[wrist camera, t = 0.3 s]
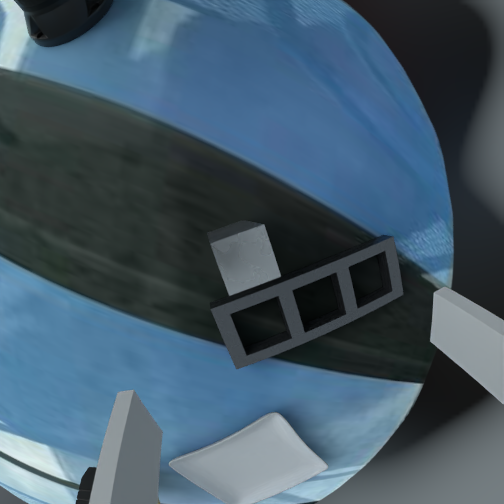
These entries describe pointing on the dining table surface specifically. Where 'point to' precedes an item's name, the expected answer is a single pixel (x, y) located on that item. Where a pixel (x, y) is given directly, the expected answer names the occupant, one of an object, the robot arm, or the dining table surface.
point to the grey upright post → (243, 255)
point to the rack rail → (288, 308)
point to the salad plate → (251, 462)
